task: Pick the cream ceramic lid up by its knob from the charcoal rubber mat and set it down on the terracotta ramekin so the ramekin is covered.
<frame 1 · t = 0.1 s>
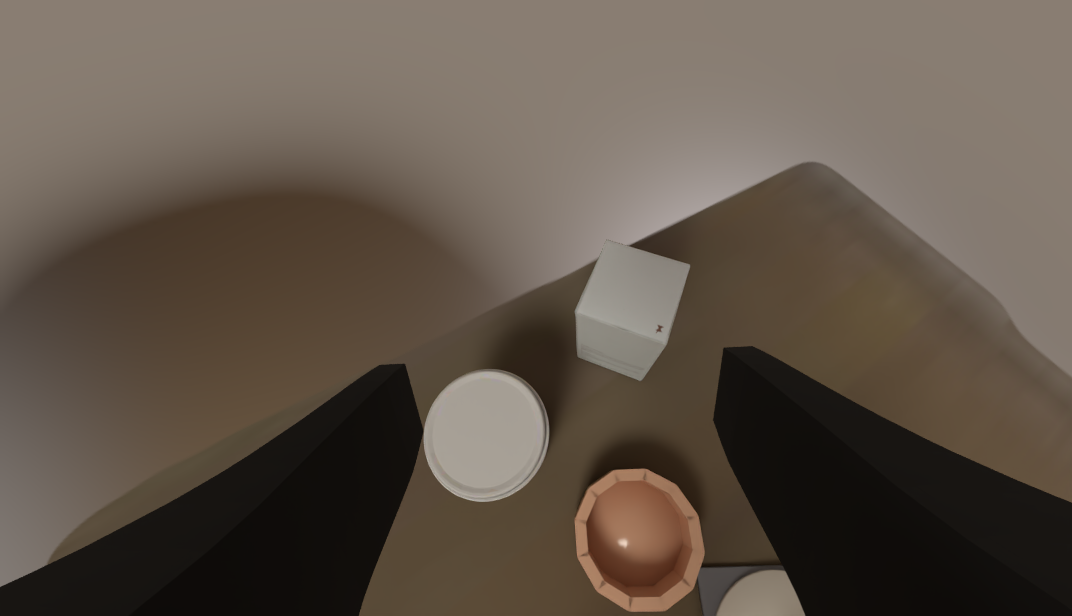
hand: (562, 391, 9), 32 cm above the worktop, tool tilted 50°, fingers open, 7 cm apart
supplement box: (618, 338, 43), on the worktop
ramekin: (631, 529, 36), on the worktop
coffee cup: (509, 442, 40), on the worktop
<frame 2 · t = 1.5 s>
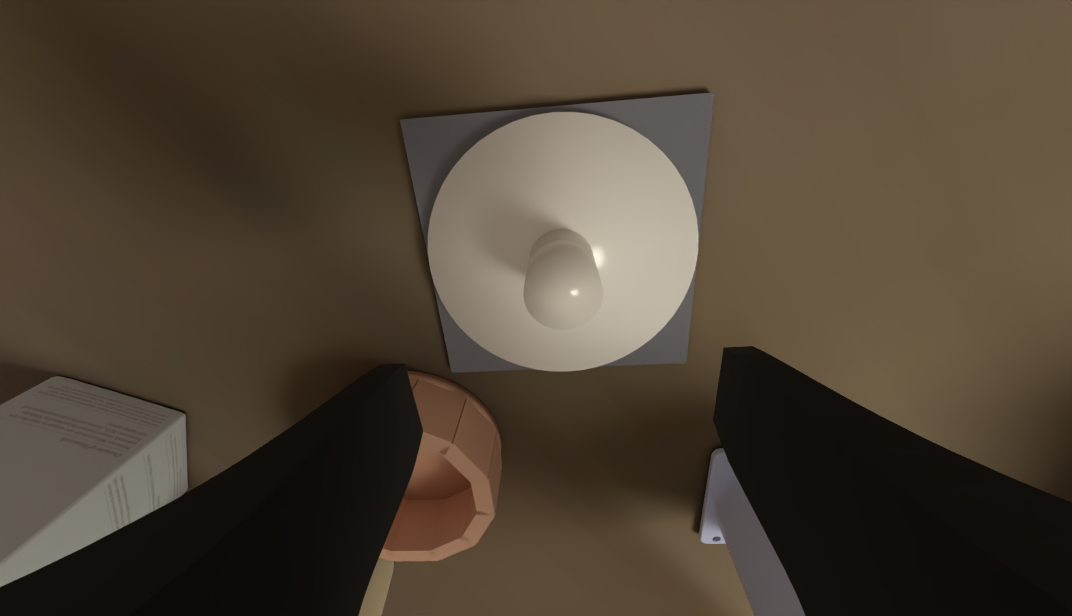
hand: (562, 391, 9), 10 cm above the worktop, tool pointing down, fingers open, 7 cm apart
mat: (560, 253, 18), on the worktop
supplement box: (131, 433, 25), on the worktop
ramekin: (417, 440, 24), on the worktop
coffee cup: (343, 554, 29), on the worktop
lid: (560, 256, 18), resting on mat
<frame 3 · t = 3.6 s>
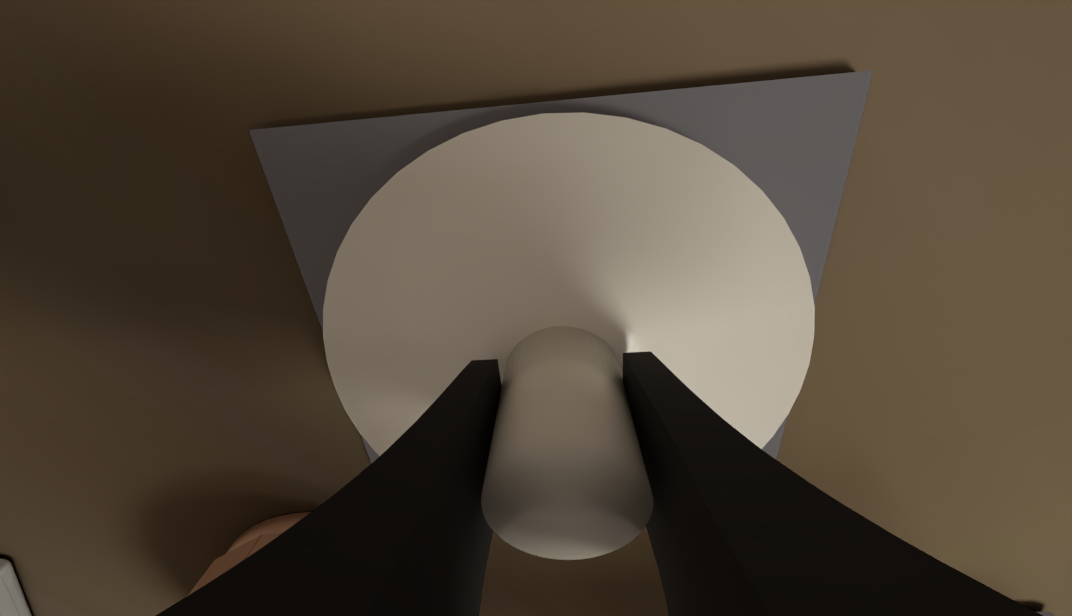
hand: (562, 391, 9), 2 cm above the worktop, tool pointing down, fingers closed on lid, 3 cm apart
mat: (560, 353, 11), on the worktop
ramekin: (353, 594, 16), on the worktop
lid: (561, 362, 10), resting on mat, touching gripper
when the fingers open (6 cm above the worktop, at t = 6.5 s): lid stays where it is, resting on ramekin.
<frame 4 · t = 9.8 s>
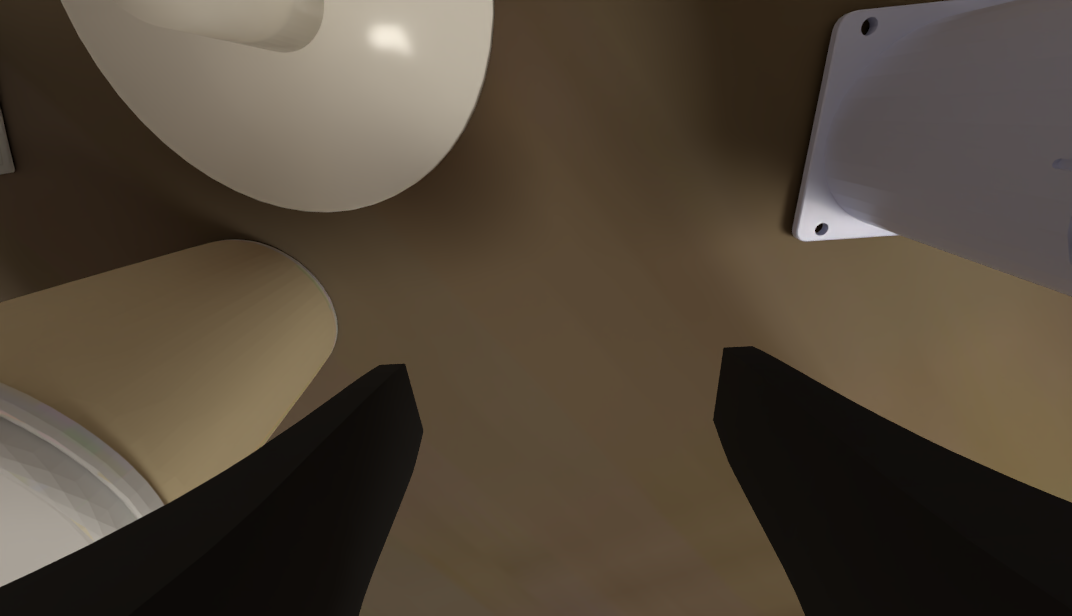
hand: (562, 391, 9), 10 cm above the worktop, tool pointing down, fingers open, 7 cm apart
coffee cup: (264, 310, 20), on the worktop
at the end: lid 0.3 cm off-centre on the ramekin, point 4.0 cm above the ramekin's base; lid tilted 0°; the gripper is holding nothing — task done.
